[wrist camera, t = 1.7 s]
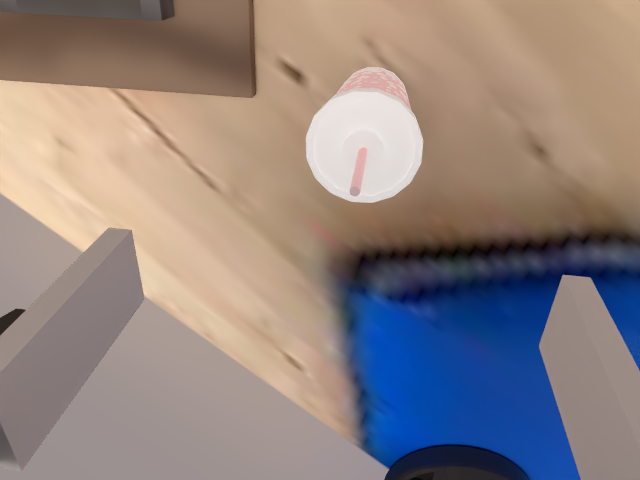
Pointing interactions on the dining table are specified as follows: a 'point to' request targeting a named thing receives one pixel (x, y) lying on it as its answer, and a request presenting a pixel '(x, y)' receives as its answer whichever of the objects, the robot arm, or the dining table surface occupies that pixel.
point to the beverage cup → (365, 138)
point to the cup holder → (131, 44)
